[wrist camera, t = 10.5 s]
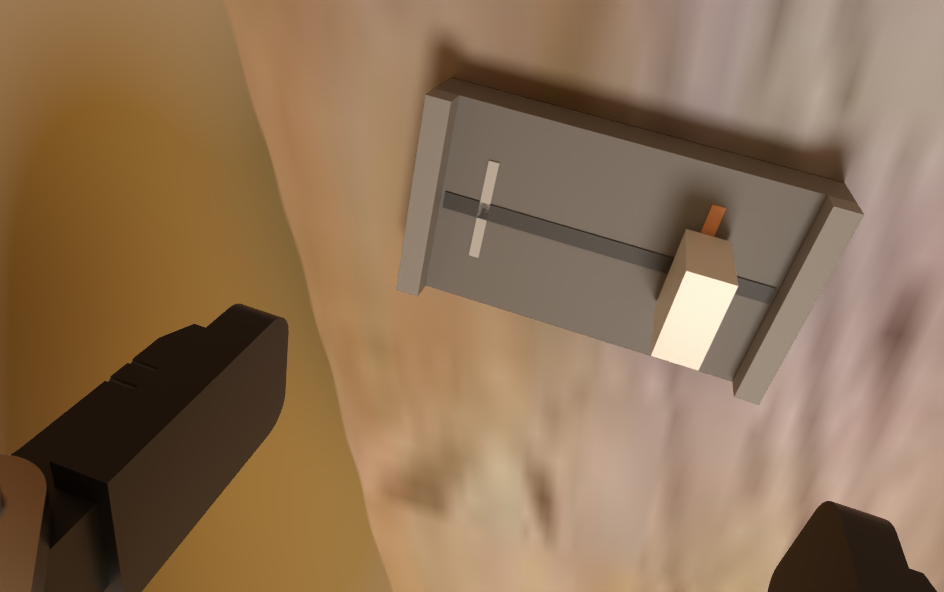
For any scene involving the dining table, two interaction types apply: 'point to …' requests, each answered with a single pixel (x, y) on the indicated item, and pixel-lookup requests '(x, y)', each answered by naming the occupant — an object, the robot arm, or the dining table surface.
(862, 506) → the dining table surface
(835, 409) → the dining table surface
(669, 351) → the fader tab
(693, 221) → the console
